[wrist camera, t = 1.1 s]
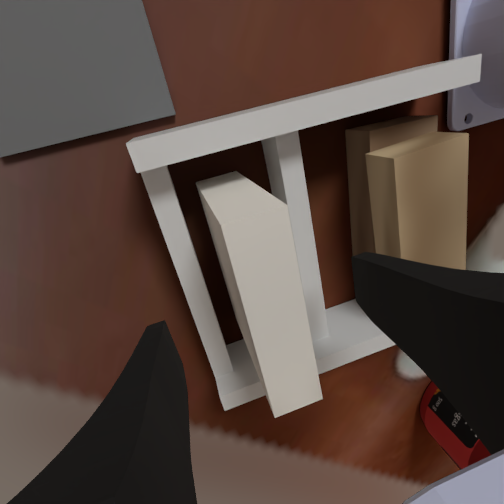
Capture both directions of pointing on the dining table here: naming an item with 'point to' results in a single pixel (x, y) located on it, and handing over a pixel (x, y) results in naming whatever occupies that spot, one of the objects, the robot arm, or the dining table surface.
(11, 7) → the mat
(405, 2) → the dining table surface
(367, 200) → the offcut low
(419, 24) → the dining table surface
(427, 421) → the canned food
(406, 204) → the offcut top
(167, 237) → the rack
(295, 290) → the cream rectangular block
